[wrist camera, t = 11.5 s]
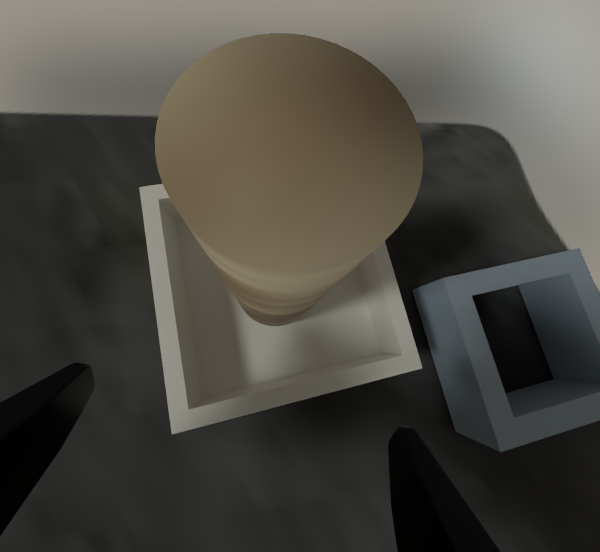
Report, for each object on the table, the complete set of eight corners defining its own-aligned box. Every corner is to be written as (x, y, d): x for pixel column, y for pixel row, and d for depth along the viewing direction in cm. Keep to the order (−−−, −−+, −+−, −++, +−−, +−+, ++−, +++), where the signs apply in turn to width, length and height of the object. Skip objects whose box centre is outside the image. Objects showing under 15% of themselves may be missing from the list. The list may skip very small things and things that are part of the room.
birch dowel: (328, 292, 18) (473, 164, 5) (270, 342, 17) (278, 332, 4) (280, 237, 18) (306, -3, 6) (220, 283, 17) (96, 114, 5)
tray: (393, 364, 18) (422, 368, 15) (191, 416, 16) (171, 434, 13) (343, 187, 20) (359, 155, 17) (162, 216, 18) (139, 187, 15)
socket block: (577, 394, 19) (646, 405, 15) (455, 431, 17) (500, 452, 14) (527, 264, 20) (579, 248, 17) (412, 290, 19) (443, 277, 16)
